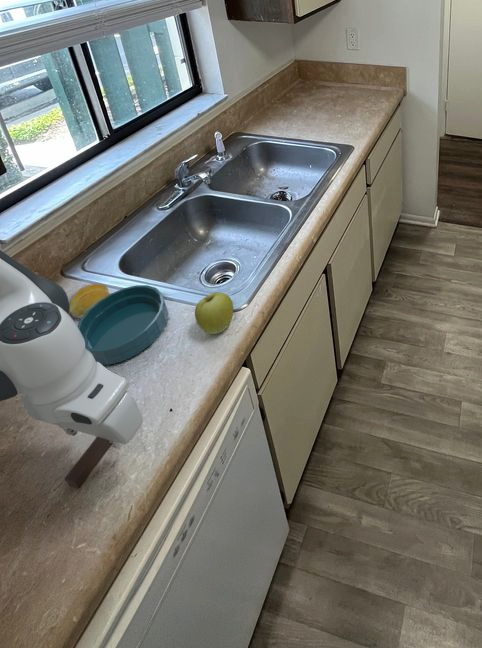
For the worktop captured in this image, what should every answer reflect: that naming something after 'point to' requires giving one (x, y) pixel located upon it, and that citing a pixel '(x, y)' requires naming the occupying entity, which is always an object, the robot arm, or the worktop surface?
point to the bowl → (123, 323)
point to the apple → (214, 312)
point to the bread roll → (87, 299)
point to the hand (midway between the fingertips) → (97, 436)
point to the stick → (87, 462)
